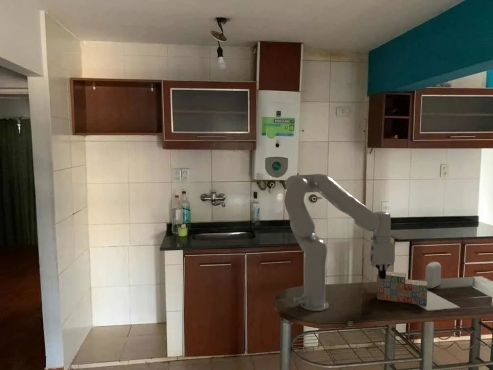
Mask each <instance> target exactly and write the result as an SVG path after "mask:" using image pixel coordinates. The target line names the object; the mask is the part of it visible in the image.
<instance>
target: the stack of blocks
mask: <svg viewBox="0 0 493 370" xmlns="http://www.w3.org/2000/svg"><path fill="white" fill-rule="evenodd" d="M406 275H407V274H406V272H396V271H388V270H386V279H381V278H379V276H378V272H377V273H376V298H377V300H381V301H388V302H389V301H390V302H395V303H405V304H411V305H412V304H413V305H417V304H418V305H425V306H427V290H428V287H427V282H425V280H415V279H414V280H413V279H407V276H406ZM418 305H417V306H418Z"/></svg>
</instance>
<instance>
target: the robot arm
mask: <svg viewBox="0 0 493 370" xmlns="http://www.w3.org/2000/svg"><path fill="white" fill-rule="evenodd" d="M284 184H285V188H286V191H285V194H284V207H285V209H286V212H287V214H288V216H289V219H290V220H289V225H290V228H291V231H292V233H293V235H294V238H295V240H296V242H297V244H298V246H299V247H300V249H301V250H302V251H303V253H304V263H303V294H301V296H299V297H293V303H298V304H300V307H301V308H302V309H304V310H308V311H312V312H322V311H325V310H328V308H329V306H330V305H329V302H327V300H326V261H327V254H328V247H327V244H326V243H325V241H324V240H323V239H322V238H320V237H319V236H318V235H317V233H316V231H315V230H316V224H315V223H314V220H313V219H312V218H313V217H312V216H311V214H310V212H309V211H308V209H307V205H306V203H305V196H306V194H308V193H319V194H320V196H322V197H323V198H324V199H326V201H328V202H329V203H330V204H331V205H332V206H333V207H335V208H336V209H337V210H338V211H340V212H342V213H344V214H346V215H348V216H349V217H350V218H352V219H353V221H354V223H355V225H356V226H357V227H359V228H361V229H362V230H363V229H364V230H365V231H367V232H372V236H371V237H370V241H371V245H370V252H369V253H370V255H369V257H370V258H369V261H370V266H371V267H373V268H376V269H377V273H378V276H379V278H381V279H386V271H388V268H389V266H393V265H394V263H395V262H396V261H395V260H396V258H395V248H394V247H395V246H394V243H393V241H392V240H391V239H392V237H391V235H392V234H391V232H392V231H391V230H392V229H391V225H392V224H391V223H392V222H391V213H390V212H387V211H375V212H373V211H372V210H371V209H370V208H368V207H367V206H366V205H365V204H363V203H362V202H360V201H359V200H358V199H357V198H356V197H354V196H353V195H351V194H350V193H349V192H348V191H346V189H344V188H343V187H342V186H341V185H340V184H338V183H337V182H336V181H335V180H334V179H333V178H332V177H330V176H329V175H327V174H322V173H315V174H298V175H297V174H296V175H290V176H289V177H288V178H287V179H286V180H285V183H284Z"/></svg>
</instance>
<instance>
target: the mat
mask: <svg viewBox="0 0 493 370" xmlns="http://www.w3.org/2000/svg"><path fill="white" fill-rule="evenodd" d="M416 305H417V306H419V307H420V308H422V309H424V310H425V311H427V312H432V311H433V312H434V311H444V309H445V310H453V309H460V308H461V307H460V306H458V305H457V304H455V303H453V302H451V301H448V300H447V299H445V298H444V297H441V296H439V295H437V294H436V293H434V292H432V291H429V290H428V289H427V306H425V305H418V304H416Z"/></svg>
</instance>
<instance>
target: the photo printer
mask: <svg viewBox="0 0 493 370" xmlns="http://www.w3.org/2000/svg"><path fill="white" fill-rule="evenodd" d="M424 276H425V278H424V279H425V280H424V281H425V282H427V289H432V288H435V287H439V286H440V285H441V282H442V278H441V277H442V265H441V263H440V262H438V261H432V262H429V263H428V264H427V265H426V266H425V274H424Z"/></svg>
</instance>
